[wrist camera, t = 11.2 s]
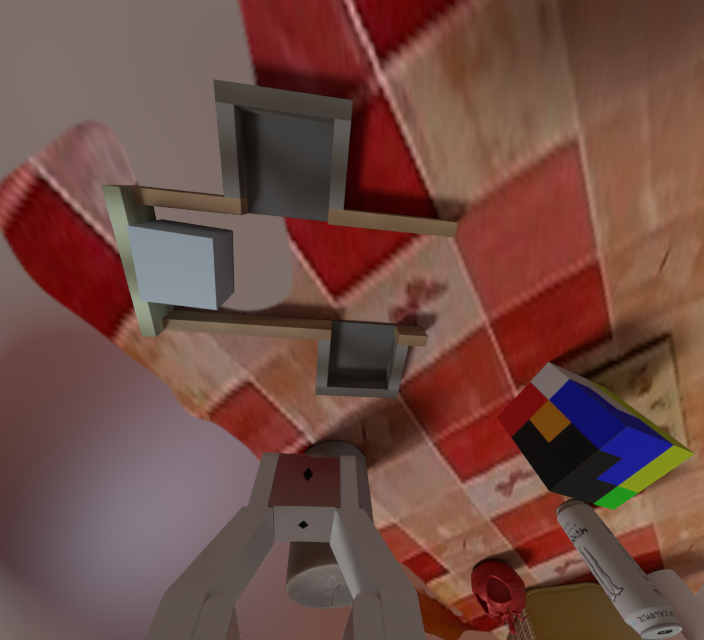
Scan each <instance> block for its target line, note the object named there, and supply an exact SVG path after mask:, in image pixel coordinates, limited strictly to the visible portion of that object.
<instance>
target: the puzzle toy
mask: <svg viewBox="0 0 704 640" xmlns="http://www.w3.org/2000/svg"><path fill="white" fill-rule="evenodd" d="M497 418H498V419H499V421H500V422H501V424H502V425H503V426H504V428H505V429H506V431H507V432H508V434H509V435H510V436H511V438H512V439H513V441H514V442H515V443H516V445H517V446H518V448H519V449H520V450H521V452H522V453H523V455H524V456H525V458H526V459H527V460H528V462H529V463H530V465H531V466H532V467H533V469H534V470H535V472H536V473H537V475H538V476H539V477H540V479H541V480H542V482H543V483H544V484H545V486H546V487H547V489H548V490H549V491H551V492H554V493H558V494H561V495H565V496H568V497H572V498H575V499H578V500H582V501H585V502H589V503H592V504H595V505H599V506H602V507H606V508H609V509H613V510H614V509H616V508H617V507H619V506H620V505H622V504H623V503H624V502H626V501H627V500H629V499H630V498H632V497H633V496H634V495H636V494H637V493H639V492H640V491H642V490H643V489H645V488H646V487H647V486H649V485H650V484H652V483H653V482H655V481H656V480H658V479H659V478H660V477H662V476H663V475H665V474H666V473H668V472H669V471H670V470H672V469H673V468H675V467H676V466H678V465H679V464H681V463H682V462H683V461H685V460H686V459H688V458H689V457H691V456H692V455H694V454H695V453H693V452H692V451H690V450H689V449H688V448H686V447H685V446H684V445H682V444H681V443H680V442H678V441H677V440H676V439H674V438H673V437H671V436H670V435H669V434H667V433H666V432H665V431H663V430H662V429H661V428H659V427H658V426H657V425H655V424H654V423H652V422H651V421H650V420H648V419H647V418H646V417H644V416H643V415H642V414H640V413H639V412H638V411H636V410H635V409H634V408H632V407H631V406H629V405H628V404H627V403H625V402H624V401H623V400H621V399H620V398H619V397H617V396H616V395H615V394H613V393H612V392H610V391H609V390H608V389H606V388H605V387H603V386H601V385H599V384H597V383H595V382H592V381H590V380H588V379H586V378H583V377H581V376H579V375H577V374H574V373H572V372H570V371H568V370H566V369H563V368H561V367H559V366H557V365H554V364H552V363H550V362H548V363H547V364H546V365H545V366H544V368H543V369H542V370H541V371H540V372H539V373H538V374H537V375H536V376H535V377H534V378H533V379H532V380H531V382H530V383H529V384H528V385H527V386H526V387H525V388H524V389H523V390H522V391H521V392H520V393H519V395H518V396H517V397H516V398H515V399H514V400H513V401H512V402H511V403H510V404H509V405H508V406H507V407H506V409H505V410H504V411H503V412H502V413H501V414H500V415H499V416H498V417H497Z"/></svg>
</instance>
